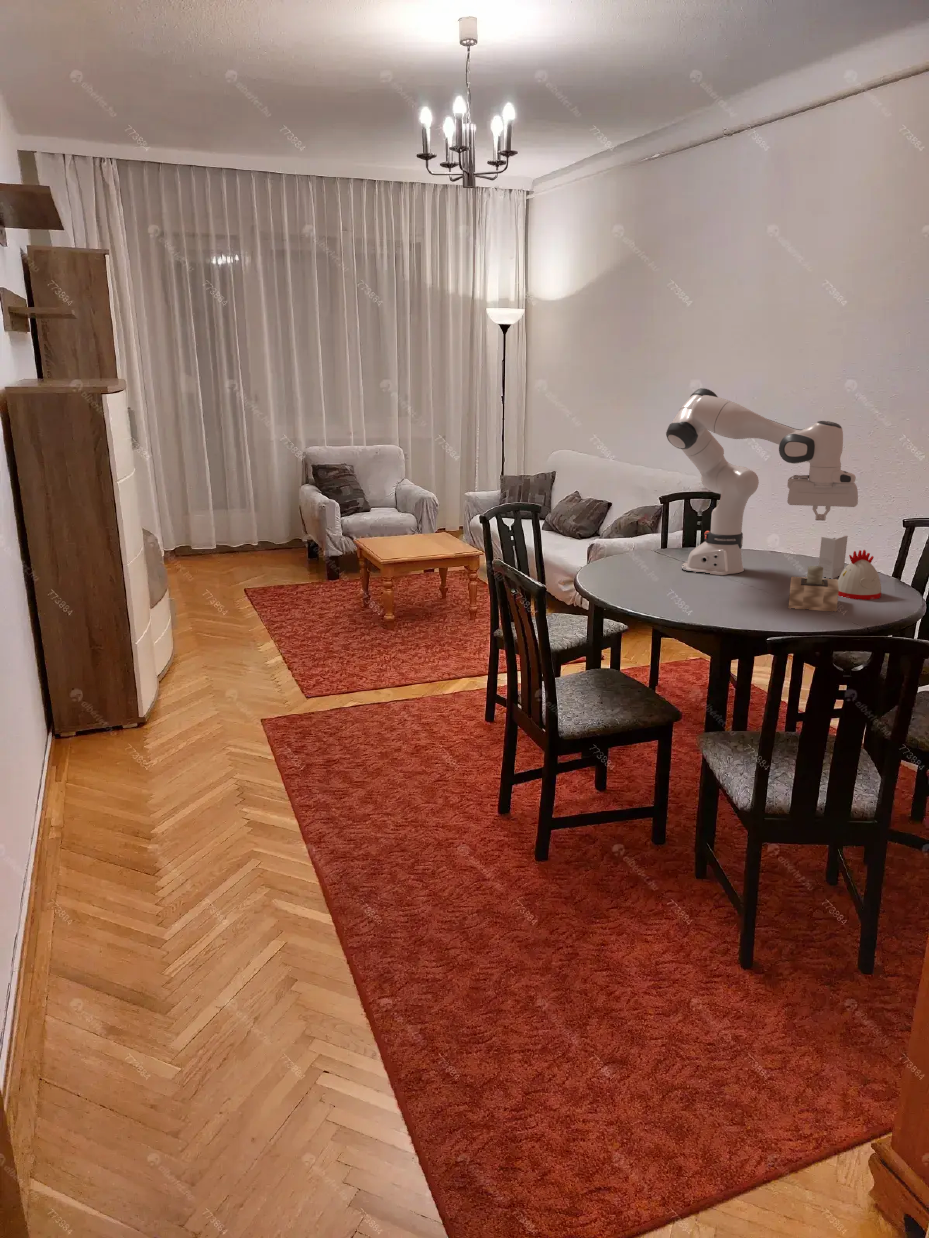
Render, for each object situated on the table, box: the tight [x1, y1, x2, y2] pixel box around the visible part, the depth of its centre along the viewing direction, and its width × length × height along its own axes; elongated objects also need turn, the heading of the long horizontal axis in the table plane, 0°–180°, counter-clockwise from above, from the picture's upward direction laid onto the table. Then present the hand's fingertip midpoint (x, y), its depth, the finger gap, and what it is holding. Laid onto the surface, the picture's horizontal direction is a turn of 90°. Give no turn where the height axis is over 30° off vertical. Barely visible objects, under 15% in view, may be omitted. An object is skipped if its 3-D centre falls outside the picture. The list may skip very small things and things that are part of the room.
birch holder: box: [787, 576, 839, 613], centre depth 276 cm, size 14×14×7 cm
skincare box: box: [817, 532, 848, 579], centre depth 309 cm, size 8×6×15 cm
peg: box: [806, 565, 823, 584], centre depth 275 cm, size 4×4×10 cm
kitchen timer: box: [838, 549, 882, 601], centre depth 285 cm, size 14×14×15 cm
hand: (820, 520), depth 269 cm, fingers closed
